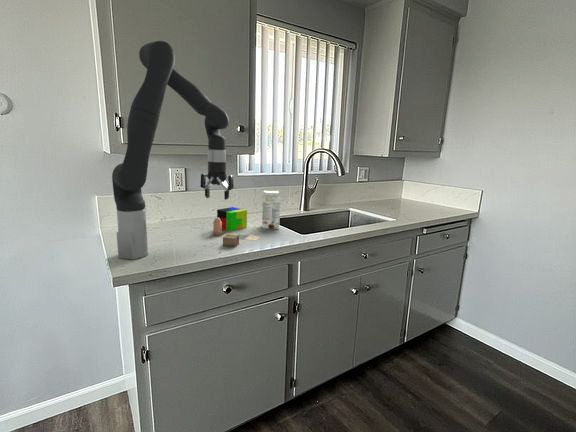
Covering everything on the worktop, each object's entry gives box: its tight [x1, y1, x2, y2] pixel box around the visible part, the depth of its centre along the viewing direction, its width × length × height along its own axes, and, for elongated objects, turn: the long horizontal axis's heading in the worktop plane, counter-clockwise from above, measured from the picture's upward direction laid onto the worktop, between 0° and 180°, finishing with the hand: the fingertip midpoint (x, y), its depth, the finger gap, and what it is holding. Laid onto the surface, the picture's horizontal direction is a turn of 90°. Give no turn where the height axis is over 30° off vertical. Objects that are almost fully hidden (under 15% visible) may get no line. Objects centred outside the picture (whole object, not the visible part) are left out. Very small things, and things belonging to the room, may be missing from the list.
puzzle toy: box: [216, 206, 248, 232], centre depth 158 cm, size 10×10×10 cm
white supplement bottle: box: [261, 190, 281, 230], centre depth 160 cm, size 8×9×19 cm
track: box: [209, 232, 262, 242], centre depth 144 cm, size 7×22×1 cm, turn 78°
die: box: [222, 233, 240, 248], centre depth 131 cm, size 5×5×5 cm
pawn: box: [212, 217, 223, 236], centre depth 144 cm, size 4×4×8 cm
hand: (217, 198), depth 142 cm, fingers open, 8 cm apart
